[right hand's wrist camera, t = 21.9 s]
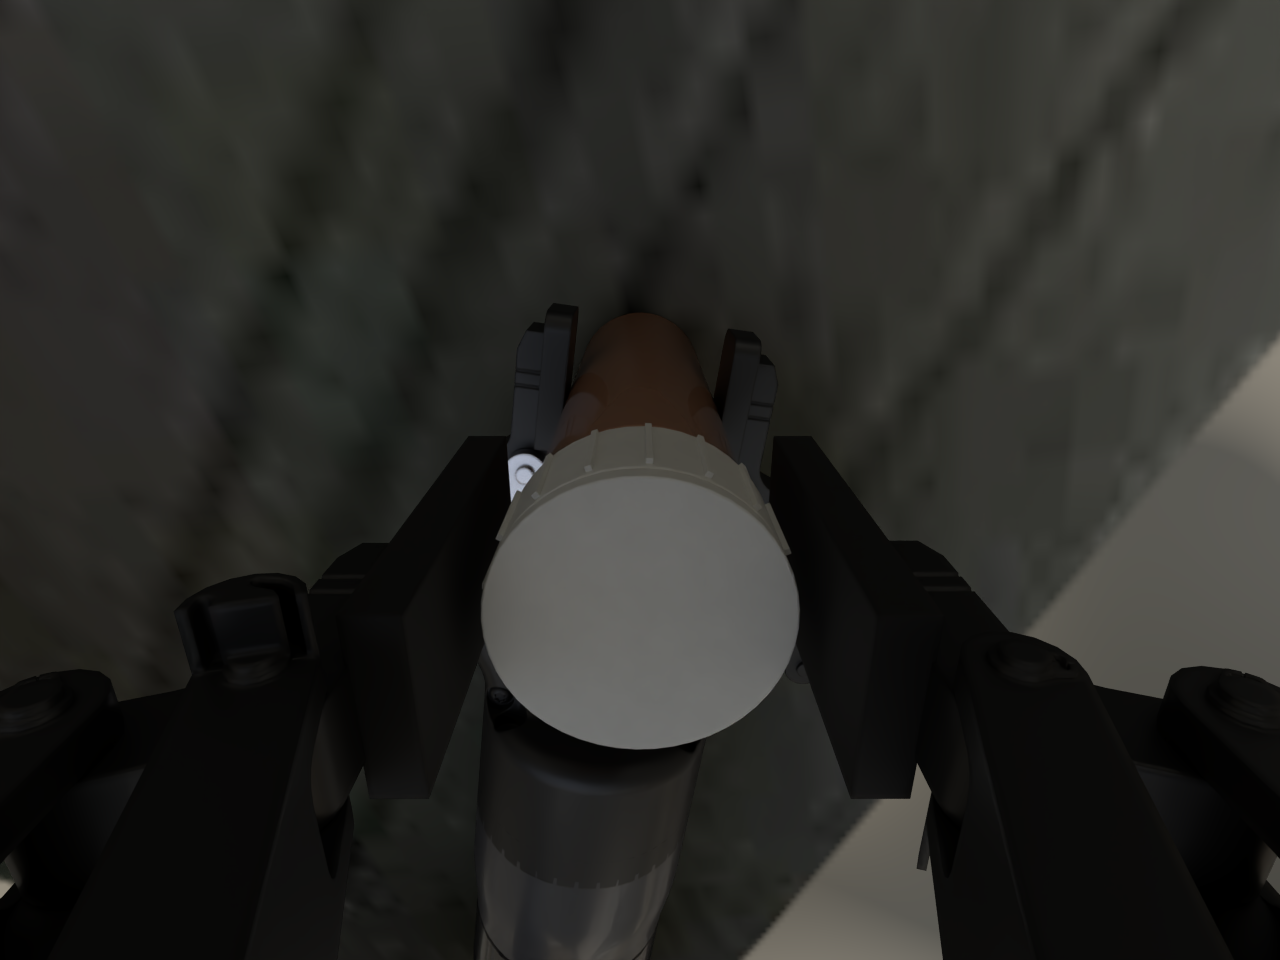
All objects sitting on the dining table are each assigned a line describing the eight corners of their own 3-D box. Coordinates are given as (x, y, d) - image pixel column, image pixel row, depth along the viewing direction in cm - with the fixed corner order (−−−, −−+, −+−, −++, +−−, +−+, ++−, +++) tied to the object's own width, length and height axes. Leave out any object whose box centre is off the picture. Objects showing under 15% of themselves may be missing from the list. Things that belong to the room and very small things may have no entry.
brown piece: (558, 360, 25) (446, 572, 11) (651, 287, 24) (669, 410, 10) (629, 448, 26) (616, 745, 12) (720, 382, 25) (828, 616, 11)
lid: (565, 373, 11) (547, 414, 9) (826, 488, 12) (868, 551, 10) (467, 608, 13) (431, 690, 10) (702, 696, 13) (715, 790, 11)
